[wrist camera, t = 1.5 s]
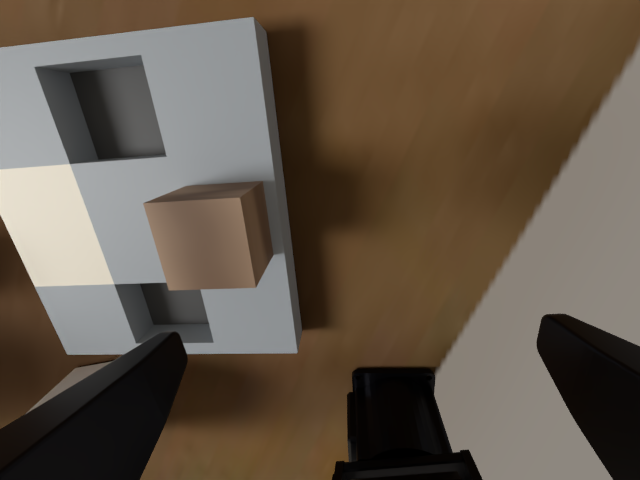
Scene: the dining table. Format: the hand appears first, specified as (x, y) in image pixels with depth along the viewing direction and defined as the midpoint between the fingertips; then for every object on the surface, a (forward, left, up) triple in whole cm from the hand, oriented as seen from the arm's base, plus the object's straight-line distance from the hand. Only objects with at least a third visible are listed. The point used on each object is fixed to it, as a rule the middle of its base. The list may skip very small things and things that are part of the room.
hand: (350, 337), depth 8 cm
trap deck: (+13, 0, -13) cm, 18 cm away
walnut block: (+7, 0, -11) cm, 13 cm away
